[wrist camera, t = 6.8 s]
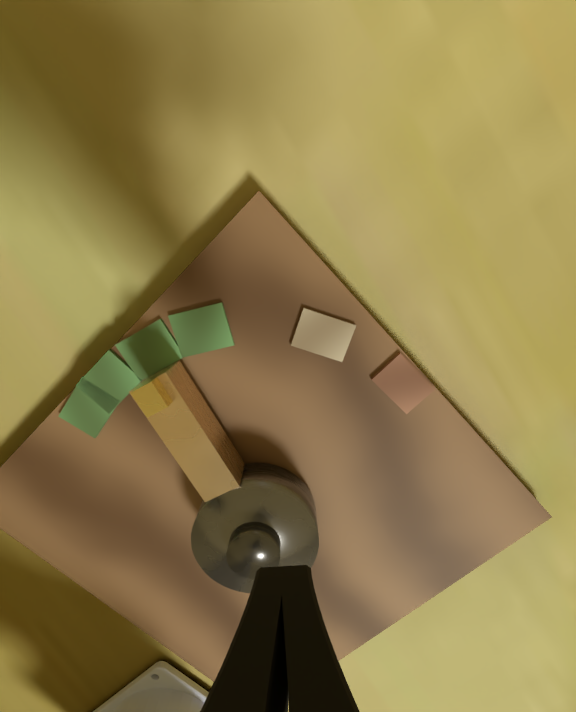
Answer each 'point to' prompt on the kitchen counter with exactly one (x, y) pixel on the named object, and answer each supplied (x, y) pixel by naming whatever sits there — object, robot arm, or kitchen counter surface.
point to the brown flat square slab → (264, 453)
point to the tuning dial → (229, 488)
